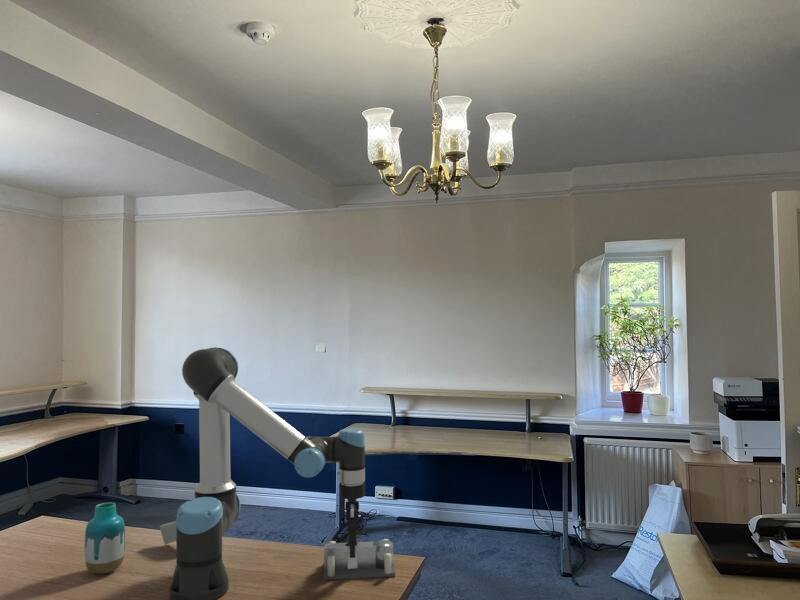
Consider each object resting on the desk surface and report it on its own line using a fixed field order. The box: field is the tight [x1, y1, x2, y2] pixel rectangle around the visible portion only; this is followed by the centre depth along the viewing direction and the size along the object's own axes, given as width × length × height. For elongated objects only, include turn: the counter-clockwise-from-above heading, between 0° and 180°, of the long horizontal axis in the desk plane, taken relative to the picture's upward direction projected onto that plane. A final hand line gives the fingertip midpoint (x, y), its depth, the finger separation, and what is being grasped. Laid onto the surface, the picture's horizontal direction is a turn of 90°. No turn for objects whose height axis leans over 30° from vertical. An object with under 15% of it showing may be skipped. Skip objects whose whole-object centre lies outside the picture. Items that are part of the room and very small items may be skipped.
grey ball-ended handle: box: [323, 539, 394, 571], centre depth 170 cm, size 20×6×6 cm, turn 95°
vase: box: [83, 501, 126, 575], centre depth 170 cm, size 11×11×19 cm
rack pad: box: [323, 538, 396, 581], centre depth 170 cm, size 20×13×6 cm, turn 95°
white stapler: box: [159, 520, 176, 545], centre depth 187 cm, size 4×10×15 cm
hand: (352, 562), depth 169 cm, fingers open, 7 cm apart
